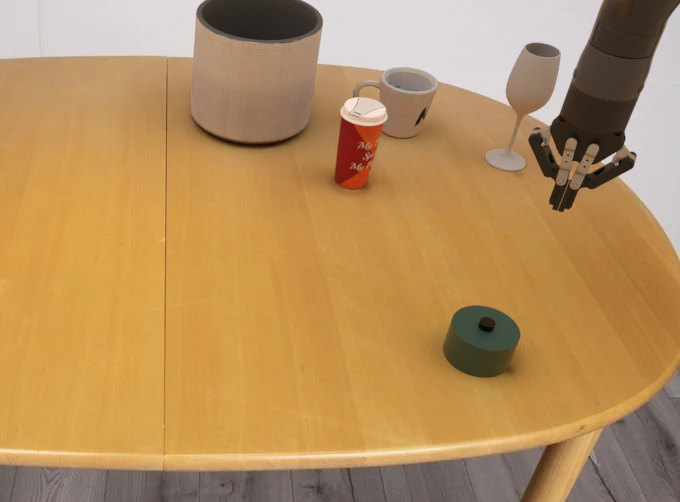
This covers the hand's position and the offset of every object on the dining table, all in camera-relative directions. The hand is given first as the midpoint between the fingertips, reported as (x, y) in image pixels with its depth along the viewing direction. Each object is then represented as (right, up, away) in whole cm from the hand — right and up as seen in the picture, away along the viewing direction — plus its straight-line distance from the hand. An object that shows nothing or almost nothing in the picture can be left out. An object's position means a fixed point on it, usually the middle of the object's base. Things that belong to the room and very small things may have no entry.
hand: (558, 207), depth 112 cm
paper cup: (-19, +10, +39) cm, 45 cm away
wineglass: (+10, +15, +46) cm, 50 cm away
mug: (-9, +23, +53) cm, 59 cm away
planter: (-35, +25, +54) cm, 69 cm away
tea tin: (-8, -19, +8) cm, 22 cm away
